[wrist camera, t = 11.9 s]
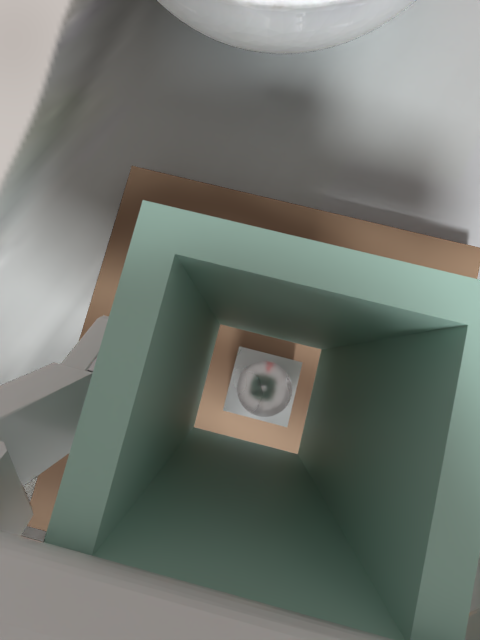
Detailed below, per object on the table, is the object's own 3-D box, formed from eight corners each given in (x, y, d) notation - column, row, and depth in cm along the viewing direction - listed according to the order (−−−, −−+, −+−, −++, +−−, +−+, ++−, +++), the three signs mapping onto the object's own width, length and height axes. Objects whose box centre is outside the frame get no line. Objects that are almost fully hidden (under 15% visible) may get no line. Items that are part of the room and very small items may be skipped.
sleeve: (310, 475, 13) (451, 717, 4) (173, 439, 13) (28, 597, 4) (340, 337, 14) (524, 290, 5) (208, 304, 14) (142, 200, 5)
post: (280, 416, 20) (291, 434, 15) (226, 402, 20) (220, 415, 15) (293, 362, 20) (308, 362, 15) (240, 348, 20) (238, 344, 15)
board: (397, 614, 20) (409, 634, 18) (39, 513, 21) (23, 524, 19) (466, 256, 22) (482, 248, 20) (139, 178, 23) (131, 165, 21)
